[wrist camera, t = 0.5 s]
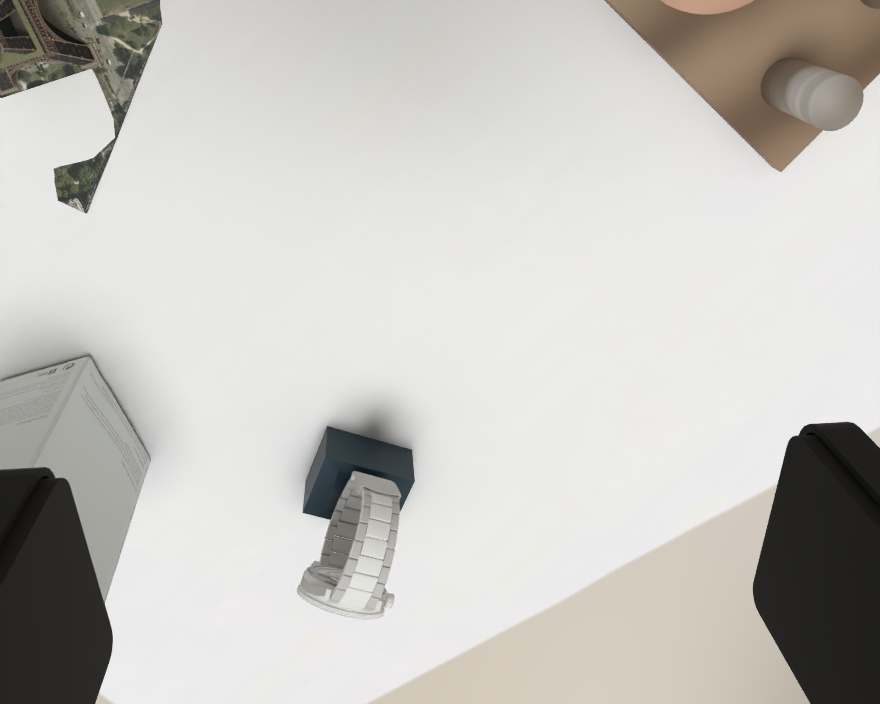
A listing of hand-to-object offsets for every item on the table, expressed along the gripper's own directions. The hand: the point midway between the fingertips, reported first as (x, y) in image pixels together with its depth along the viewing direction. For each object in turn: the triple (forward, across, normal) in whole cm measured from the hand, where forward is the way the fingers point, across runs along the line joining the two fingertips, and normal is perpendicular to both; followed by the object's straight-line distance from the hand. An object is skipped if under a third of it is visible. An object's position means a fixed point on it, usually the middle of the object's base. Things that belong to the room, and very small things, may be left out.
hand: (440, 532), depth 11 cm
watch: (+33, +2, +23) cm, 40 cm away
